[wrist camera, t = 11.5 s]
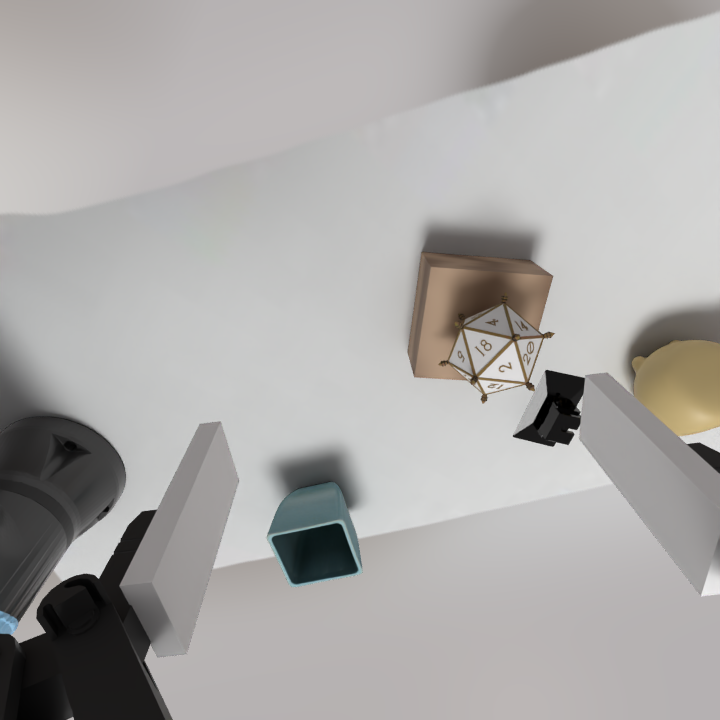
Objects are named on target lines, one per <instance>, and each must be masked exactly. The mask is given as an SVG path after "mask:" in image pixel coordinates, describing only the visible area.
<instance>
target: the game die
mask: <svg viewBox="0 0 720 720" xmlns="http://www.w3.org/2000/svg"><path fill="white" fill-rule="evenodd" d="M507 298H508V296H507V293H506V292H505V293H504V294H503V295H502V302H501V303H499V304H497V305H495V306H492V307H490V308H488V309H485V310H483V311H481V312H479V313H476V314H474V315H472V316H469V317H467V318H465V316H464V314H459V313H458V315H459V319H460V320H463V322H462V323H461V322H459V321H458V322H454V323H455V327H457V328H458V329H459V328H460V329H459V332H458V334H457V337H456V340H455V342H454V345H453V347H452V350H451V352H450V355H449V357H448V360H447V361H445V360H444V361H441V362H440V363H439V364H438V365H440V366H446V365H447V364H449V365H450V366H451V367H452V368H454V369H455V370H456V371H457V372H458V373H459V374H461V375H462V376H463V377H464V378H465V379H466V380H467V381H469V382H470V383H471V385H473V386H474V387H475V388H477V389H478V390H479V391H480V392H481V393H482V394H483V395H482V398H481V400H482V403H484V402H485V401H487V398H488V397H487V394H491V393H495V392H499V391H503V390H507V389H510V388H514V387H518V386H522V385H526V386H527V388H528V389H529V390H532V391H535V389H534V385H532V383H529V380H530V377H531V374H532V371H533V368H534V365H535V363H536V360H537V357H538V354H539V351H540V348H541V345H542V342H543V339H544V338H547V339H548V338H551V337H552V336H553V335H554V334H555V333H551V332H548V333H545V334H541V333H540V332H539V331H538V330H537V329H535V328H534V327H533V326H532V325H531V324H530V323H528V322H527V321H526V320H525V319H524V318H523V317H521V316H520V315H519V314H518V313H517V312H515V311H514V310H513V309H512V308H511V307H510V306H508V305H507V304H506V301H507Z"/></svg>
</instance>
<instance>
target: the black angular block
mask: <svg viewBox="0 0 720 720" xmlns="http://www.w3.org/2000/svg"><path fill="white" fill-rule="evenodd" d="M584 384H585V378H582V377H578V376H573V375H568V374H563V373H559V372H554V371H549V370H546V371H545V372H544V374H543V376H542V378H541V380H540V382H539V384H538V386H537V388H536V390H535V392H534V394H533V396H532V398H531V400H530V402H529V404H528V406H527V408H526V410H525V412H524V414H523V417H522V419H521V421H520V423H519V425H518V427H517V429H516V431H515V433H514V435H513V437H515V438H519V439H523V440H527V441H532V442H536V443H540V444H544V445H548V446H552V447H553V446H554V445H555V443H556V442H557V443H562V444H566V445H569V443H570V441H571V440H572V438H573V436H574V435H575V434H574V433H573V432H571V431H567V430H568V429H569V428H570V429H574V430H577V429H578V428H579V426H580V423H581V416H580V411H579V409H578V408H577V404H578V403H579V401H580V399H581V397H582V395H583V394H584Z"/></svg>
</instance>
